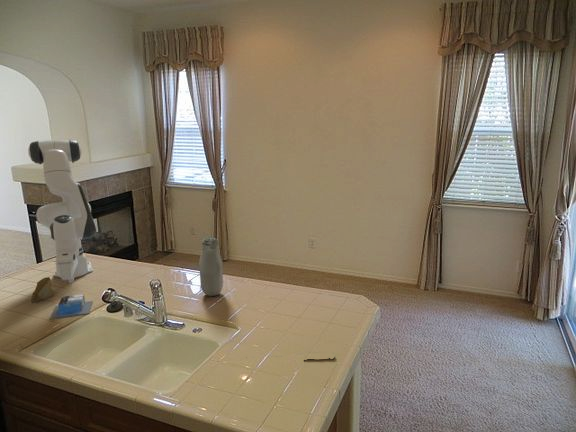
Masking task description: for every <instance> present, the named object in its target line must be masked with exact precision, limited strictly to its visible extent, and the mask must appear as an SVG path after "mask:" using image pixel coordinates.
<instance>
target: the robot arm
mask: <svg viewBox="0 0 576 432" xmlns="http://www.w3.org/2000/svg"><path fill="white" fill-rule="evenodd" d="M27 150H28V151H27V152H28V156H29V158H30V160H31V162H33V163H35V164H38V165H43V166H42V167H43V170H42V171H43V178H44V182H45V186H47V188H48V190H49V192H50V193H51V194H52V195H55V196H58V197H61V199H62V201H61V202H60V201H59V202H55V203H54V202H53V203H47V204H45V205H43V206H40V207H38V209H37V211H36V213H35V215H36V220H37V221H38V223H39V224H40V225H41V226H43V227H46V228H47V229H49V230H50V237H51V239H52V240H53V241H55V255H56V256H55V257H56V258H55V261H54V262H55V272H53V277H58V278H60V279H61V280H62V281H68V283H69V284H72V283H74V281H75V278H78V277H82V276H85V275H86V274H89V273H92V272H94V269H93V267H92V263H91V261H88V259H87V257H86V255H85V253H84V248H83V245H82V240H81V239H91V238H93V237H94V236H95V235H96V233H97V230H98V229H97V228H98V227H97V224H96V221H95V219H94V218H93V215H92V207H91V204H90V203H89V201H88V199H87V197H86V194H85V192H84V189H83V186H82V184H81V183H80V182H76V180H75V179H74V178H73V173H72V168H71V163H72V164H74V163H76V162H78V161H79V160H80V159H81V157H82V154H83V153H82V152H83V151H82V147H81V145H80V143H79V142H78V141H77V140H74V139H68V140H67V139H51V140H49V139H48V140H41V141H39V140H36V141H32V142H31V143H29V147H28V149H27ZM70 162H71V163H70Z"/></svg>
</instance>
